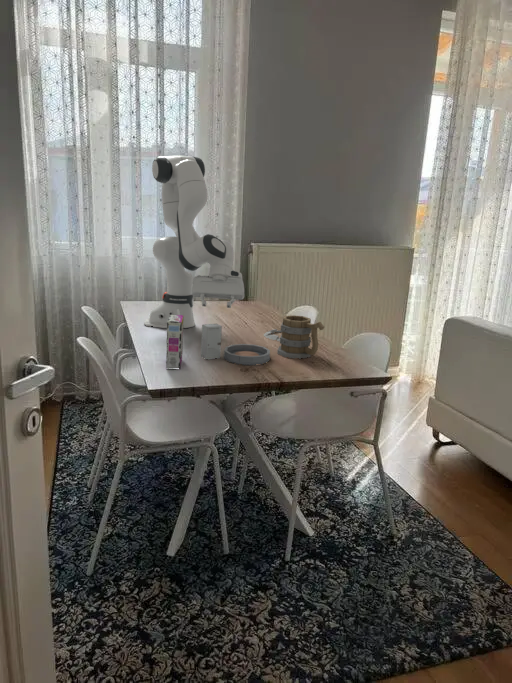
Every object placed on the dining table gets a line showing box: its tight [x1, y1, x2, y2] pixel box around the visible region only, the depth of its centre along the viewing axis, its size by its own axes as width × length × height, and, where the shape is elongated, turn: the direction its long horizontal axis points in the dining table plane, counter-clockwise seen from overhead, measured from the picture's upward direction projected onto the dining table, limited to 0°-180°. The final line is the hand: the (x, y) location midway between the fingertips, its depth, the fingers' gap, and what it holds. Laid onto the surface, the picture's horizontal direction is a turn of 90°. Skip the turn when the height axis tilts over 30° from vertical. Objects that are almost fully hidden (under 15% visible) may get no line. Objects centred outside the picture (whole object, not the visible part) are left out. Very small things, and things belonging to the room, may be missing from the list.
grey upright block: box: [200, 323, 223, 360], centre depth 186 cm, size 6×4×12 cm
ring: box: [263, 328, 282, 342], centre depth 223 cm, size 19×19×2 cm
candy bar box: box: [165, 315, 184, 370], centre depth 175 cm, size 11×5×16 cm, turn 4°
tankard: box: [276, 314, 325, 360], centre depth 193 cm, size 20×13×15 cm, turn 36°
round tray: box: [223, 343, 271, 366], centre depth 188 cm, size 17×17×3 cm
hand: (216, 306), depth 195 cm, fingers open, 8 cm apart
